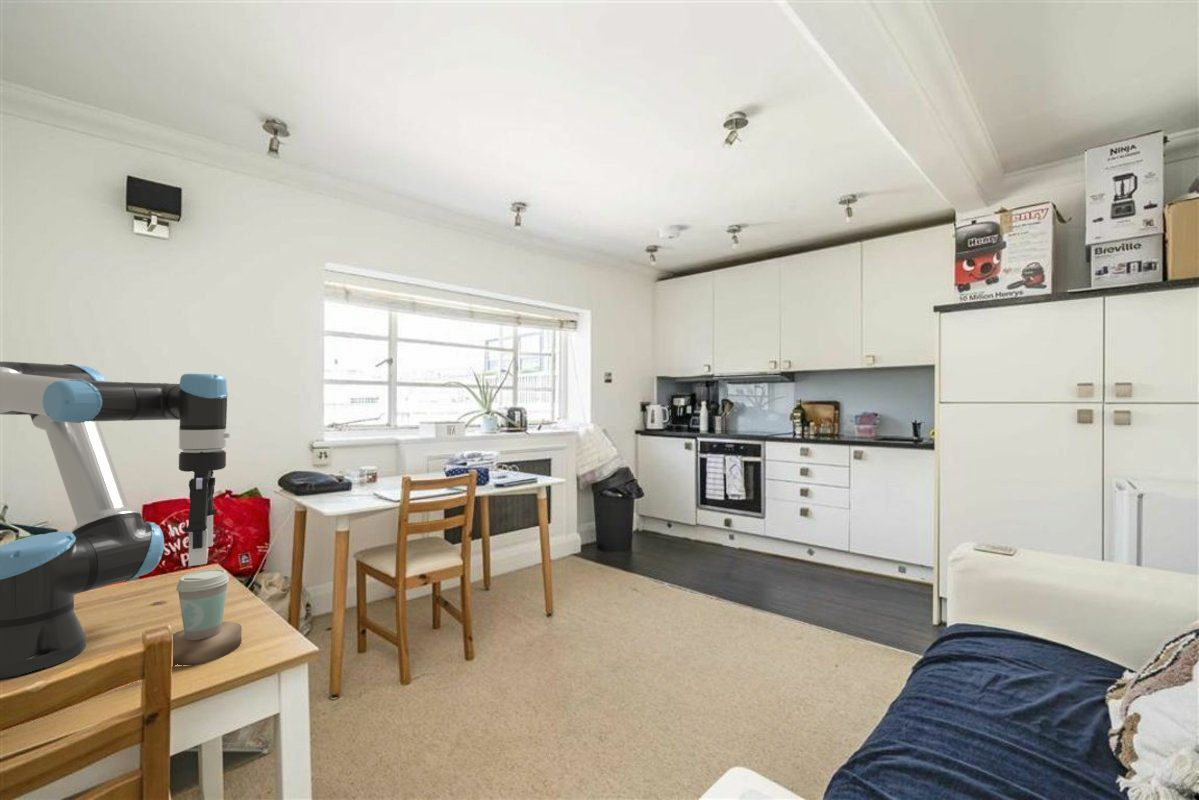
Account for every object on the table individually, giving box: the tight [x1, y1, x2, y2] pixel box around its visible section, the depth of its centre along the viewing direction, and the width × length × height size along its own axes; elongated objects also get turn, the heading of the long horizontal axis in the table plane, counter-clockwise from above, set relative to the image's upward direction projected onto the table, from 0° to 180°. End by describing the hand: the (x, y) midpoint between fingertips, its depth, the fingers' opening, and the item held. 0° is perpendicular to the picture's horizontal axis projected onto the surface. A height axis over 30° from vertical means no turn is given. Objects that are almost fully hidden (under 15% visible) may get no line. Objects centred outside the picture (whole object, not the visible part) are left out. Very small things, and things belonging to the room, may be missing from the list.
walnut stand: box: [172, 621, 243, 668], centre depth 103 cm, size 13×13×3 cm
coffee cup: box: [175, 568, 230, 640], centre depth 103 cm, size 8×8×12 cm
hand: (201, 555), depth 103 cm, fingers open, 13 cm apart
